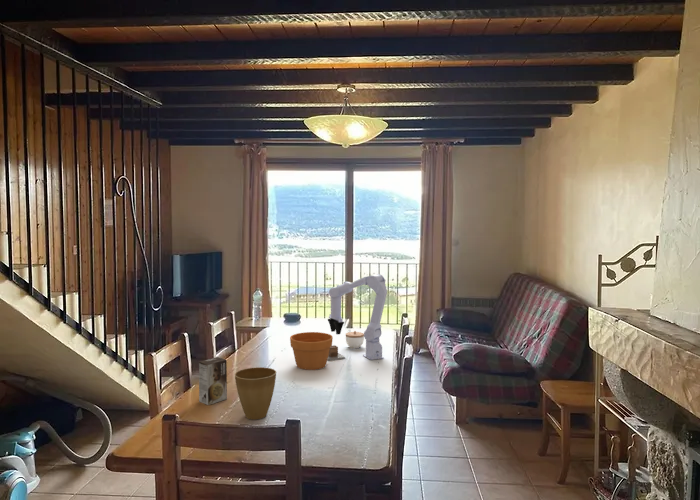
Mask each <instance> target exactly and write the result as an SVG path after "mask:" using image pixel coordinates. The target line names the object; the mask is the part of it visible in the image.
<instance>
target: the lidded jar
mask: <svg viewBox="0 0 700 500" xmlns="http://www.w3.org/2000/svg"><path fill="white" fill-rule="evenodd" d="M364 341H365V337H364V332H359V331H356V330H353V331H349V332H348V331H347V332H346V333H345V342H346V344H347V346H348V347H349V348H350V349H360V348H361V346H363V344H364ZM359 347H360V348H359Z"/></svg>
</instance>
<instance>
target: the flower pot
mask: <svg viewBox="0 0 700 500" xmlns="http://www.w3.org/2000/svg"><path fill="white" fill-rule="evenodd" d="M289 341H290V342H289V343H290V347H291V348H292V351H293V355H294V361H295V364H296V367H297V368H299V369H301V370H306V371H315V370H317V371H318V370H322V369H323V368H325V367H326V366H327V363H328V362H327V359H328V355H329V350H330V347H331V346H333V335H331V334H329V333H325V332H319V331H307V332H298V333H295V334H294V333H293V334H292V335H291V336H290V337H289Z"/></svg>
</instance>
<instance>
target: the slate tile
mask: <svg viewBox="0 0 700 500" xmlns="http://www.w3.org/2000/svg"><path fill="white" fill-rule="evenodd" d="M336 360H346V356H345V355H342V354H341V353H340V352H338V356H337V357H330V356H328V359H327V361H336Z"/></svg>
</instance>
